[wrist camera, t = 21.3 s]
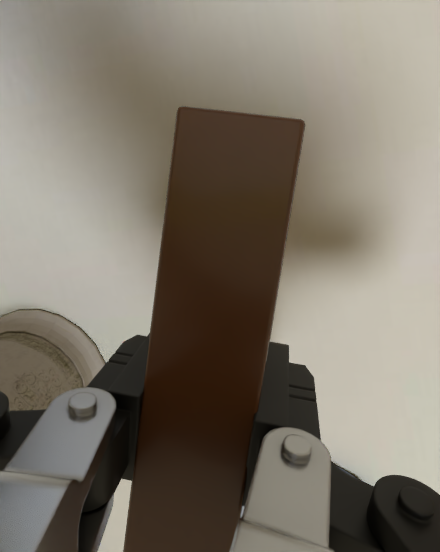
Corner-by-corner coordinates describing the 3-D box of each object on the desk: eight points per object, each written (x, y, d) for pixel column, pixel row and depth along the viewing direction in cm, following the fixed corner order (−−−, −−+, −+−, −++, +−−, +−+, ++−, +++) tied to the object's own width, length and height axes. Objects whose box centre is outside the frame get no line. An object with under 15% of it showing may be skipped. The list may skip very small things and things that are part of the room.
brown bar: (200, 146, 11) (160, 102, 7) (305, 159, 11) (323, 120, 7) (130, 677, 14) (72, 858, 10) (215, 701, 13) (190, 899, 9)
